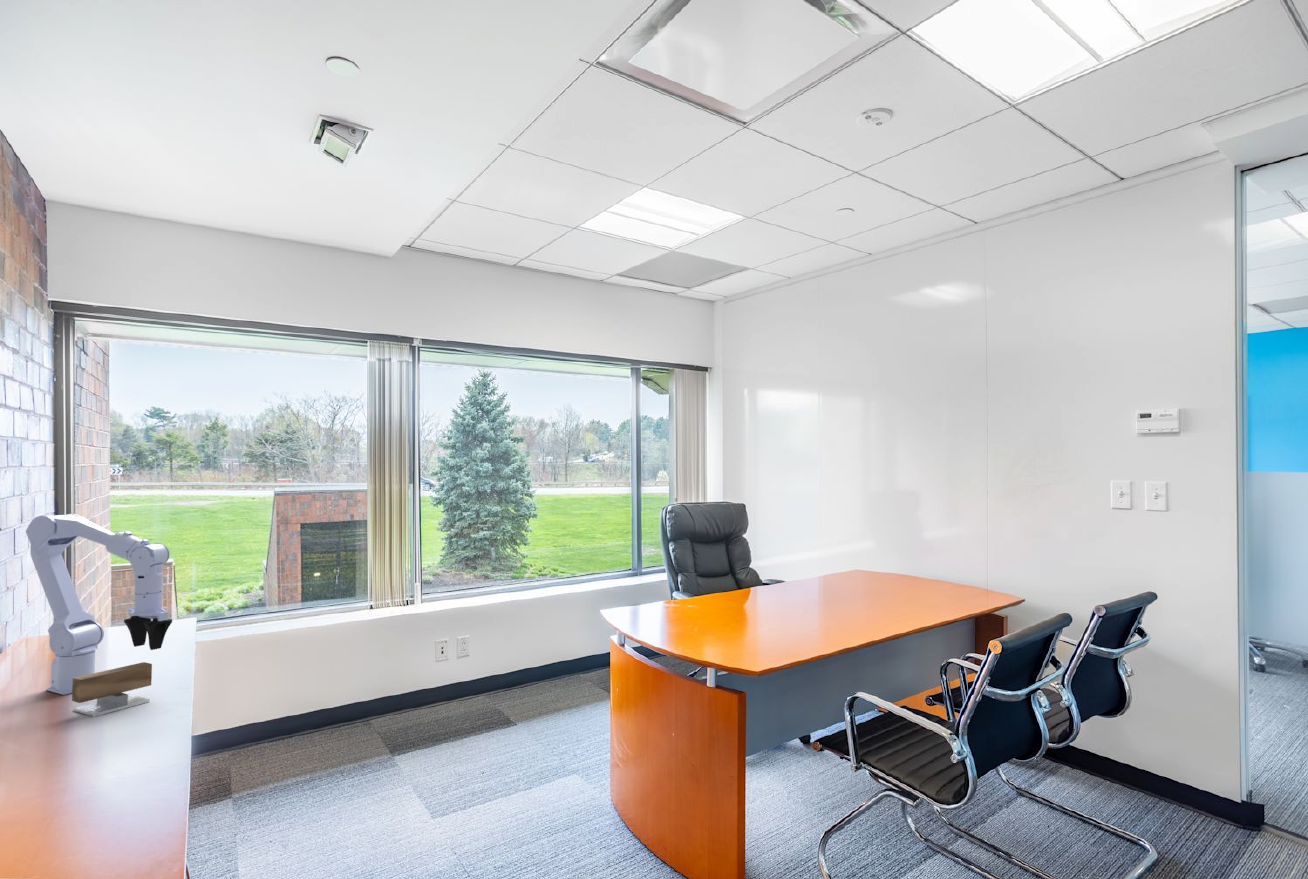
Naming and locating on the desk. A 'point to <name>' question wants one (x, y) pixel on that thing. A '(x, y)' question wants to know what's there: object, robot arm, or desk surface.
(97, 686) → the walnut rod
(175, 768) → the desk surface
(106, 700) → the balance stand
